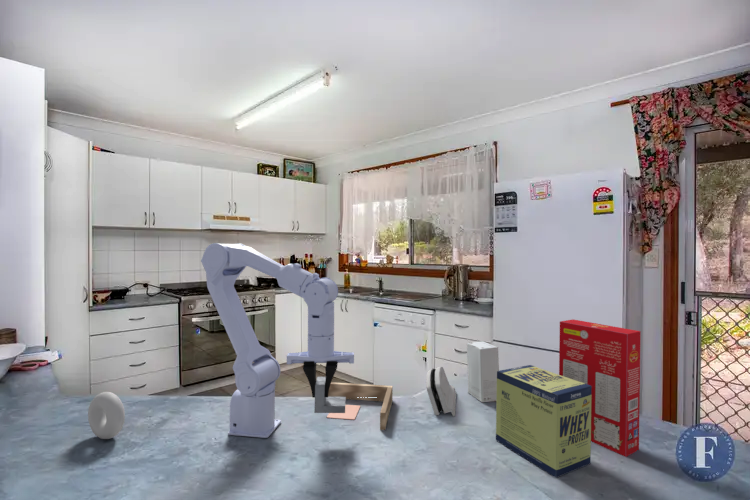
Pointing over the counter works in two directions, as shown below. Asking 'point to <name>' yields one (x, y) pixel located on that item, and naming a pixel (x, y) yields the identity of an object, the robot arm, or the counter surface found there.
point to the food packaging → (605, 379)
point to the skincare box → (482, 370)
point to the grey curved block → (440, 392)
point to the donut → (106, 415)
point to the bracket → (327, 399)
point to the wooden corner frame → (365, 390)
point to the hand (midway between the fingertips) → (320, 395)
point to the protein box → (544, 418)
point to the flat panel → (346, 413)
